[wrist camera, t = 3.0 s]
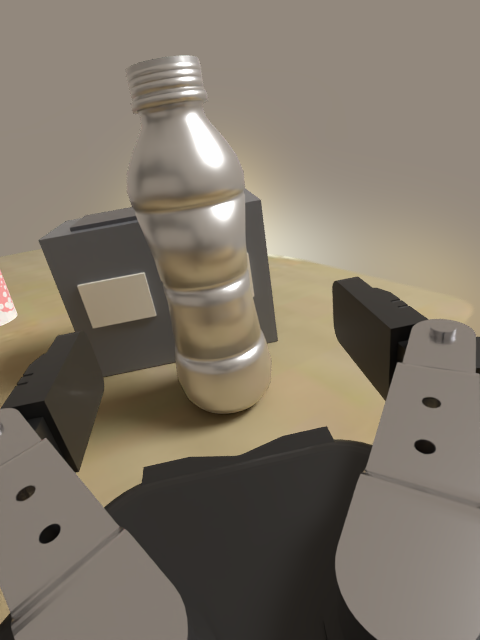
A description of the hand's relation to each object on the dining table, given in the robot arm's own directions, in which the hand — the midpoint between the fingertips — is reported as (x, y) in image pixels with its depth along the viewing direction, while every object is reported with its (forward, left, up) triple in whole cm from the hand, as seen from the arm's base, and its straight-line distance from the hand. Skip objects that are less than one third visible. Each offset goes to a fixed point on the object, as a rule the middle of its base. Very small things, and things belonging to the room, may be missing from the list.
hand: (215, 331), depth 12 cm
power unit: (-20, +6, -11) cm, 23 cm away
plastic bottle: (-10, +5, -11) cm, 16 cm away
